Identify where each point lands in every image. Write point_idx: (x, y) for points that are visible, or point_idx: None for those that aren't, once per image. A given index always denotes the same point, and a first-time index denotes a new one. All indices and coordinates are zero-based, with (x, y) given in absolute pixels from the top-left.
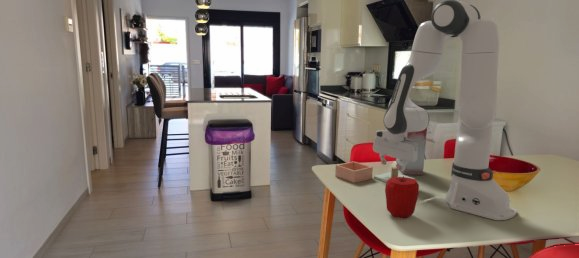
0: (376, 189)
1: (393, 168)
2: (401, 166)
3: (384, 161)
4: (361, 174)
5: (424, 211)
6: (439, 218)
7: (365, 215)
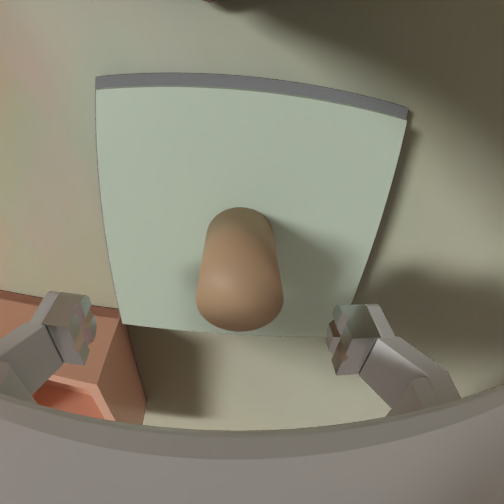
0: (260, 392)
1: (232, 320)
2: (358, 373)
3: (84, 354)
4: (130, 412)
5: (465, 391)
6: (492, 387)
7: None
